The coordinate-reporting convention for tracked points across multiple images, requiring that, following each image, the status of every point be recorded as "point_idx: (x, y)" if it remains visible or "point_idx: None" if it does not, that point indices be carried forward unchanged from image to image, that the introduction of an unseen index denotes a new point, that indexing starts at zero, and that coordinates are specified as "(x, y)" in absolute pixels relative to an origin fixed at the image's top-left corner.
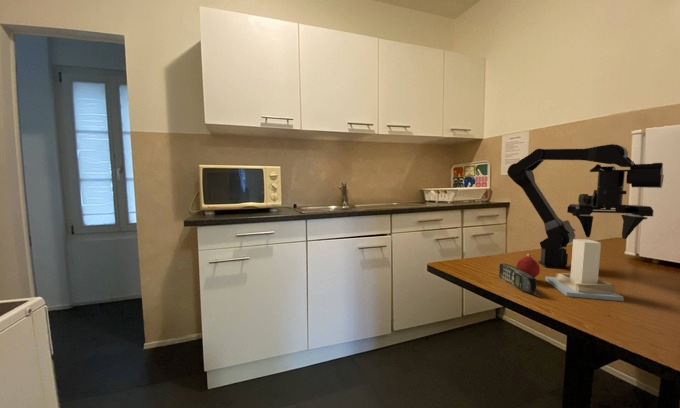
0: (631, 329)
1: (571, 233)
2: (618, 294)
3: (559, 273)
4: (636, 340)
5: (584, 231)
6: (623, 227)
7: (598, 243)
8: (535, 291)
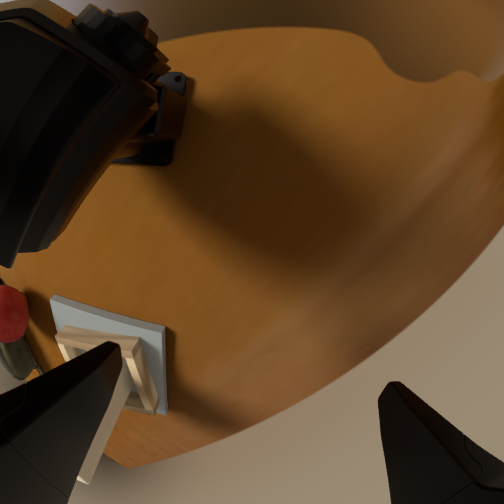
0: (126, 446)
1: (58, 171)
2: (164, 406)
3: (61, 339)
4: (119, 453)
5: (72, 364)
6: (430, 451)
7: (83, 480)
8: (33, 368)
